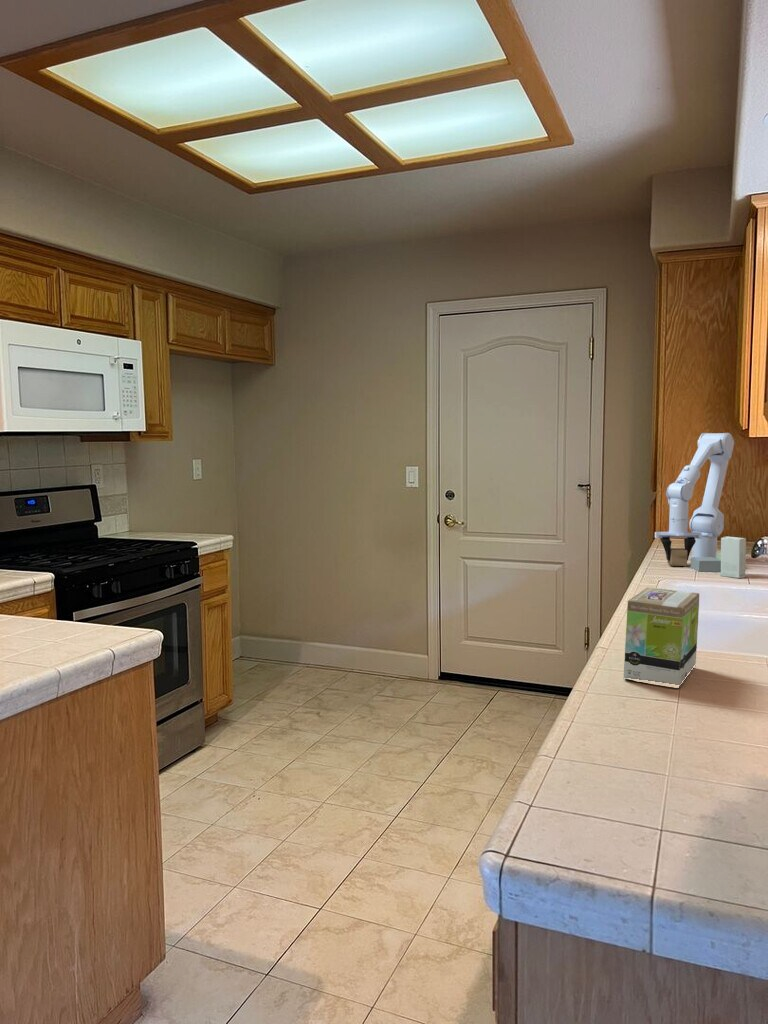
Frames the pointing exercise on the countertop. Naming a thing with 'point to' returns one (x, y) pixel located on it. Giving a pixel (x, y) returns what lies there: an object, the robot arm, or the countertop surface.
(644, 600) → the tea box
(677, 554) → the walnut cube
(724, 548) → the skincare box
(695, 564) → the slate block
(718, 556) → the sage cube
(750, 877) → the countertop surface
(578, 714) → the countertop surface
